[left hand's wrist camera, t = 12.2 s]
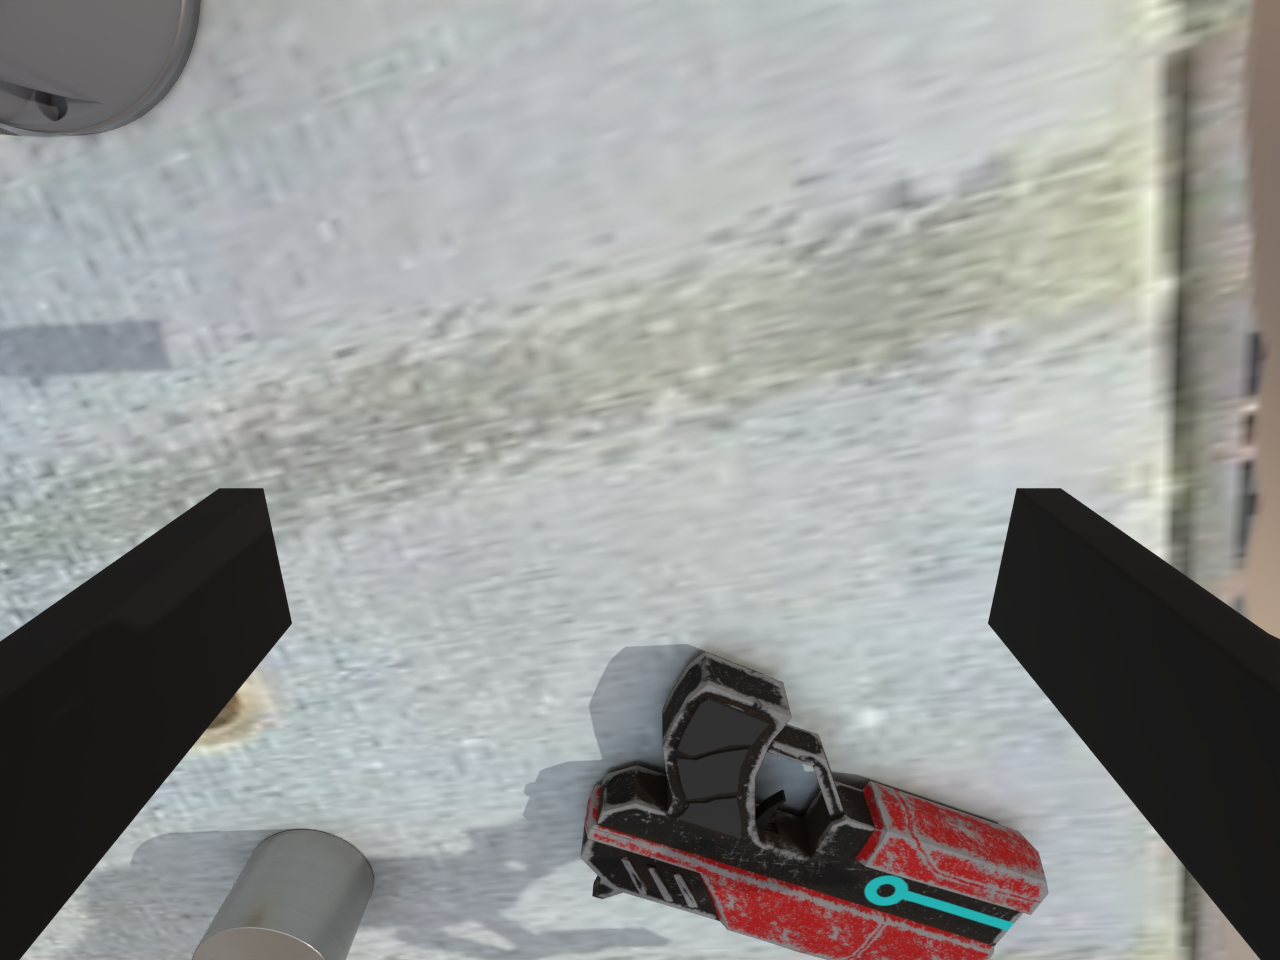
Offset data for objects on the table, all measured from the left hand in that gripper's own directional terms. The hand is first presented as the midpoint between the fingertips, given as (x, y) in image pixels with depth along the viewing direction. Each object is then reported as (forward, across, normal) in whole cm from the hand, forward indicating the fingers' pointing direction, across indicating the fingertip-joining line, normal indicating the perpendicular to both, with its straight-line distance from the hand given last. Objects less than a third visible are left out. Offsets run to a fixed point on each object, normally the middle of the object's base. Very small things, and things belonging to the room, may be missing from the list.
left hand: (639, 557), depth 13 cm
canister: (+27, -24, -41) cm, 55 cm away
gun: (+27, +12, -35) cm, 46 cm away
